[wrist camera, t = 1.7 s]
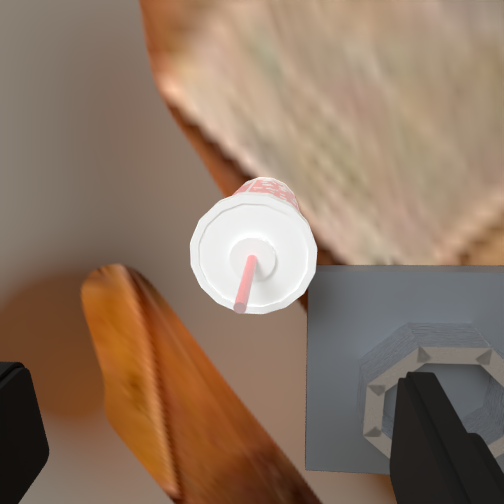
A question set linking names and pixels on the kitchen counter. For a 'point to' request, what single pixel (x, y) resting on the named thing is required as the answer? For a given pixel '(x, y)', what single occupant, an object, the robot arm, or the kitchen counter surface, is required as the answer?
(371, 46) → the kitchen counter surface
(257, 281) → the beverage cup
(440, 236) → the kitchen counter surface
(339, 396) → the plate
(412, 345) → the steel collar
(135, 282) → the kitchen counter surface
